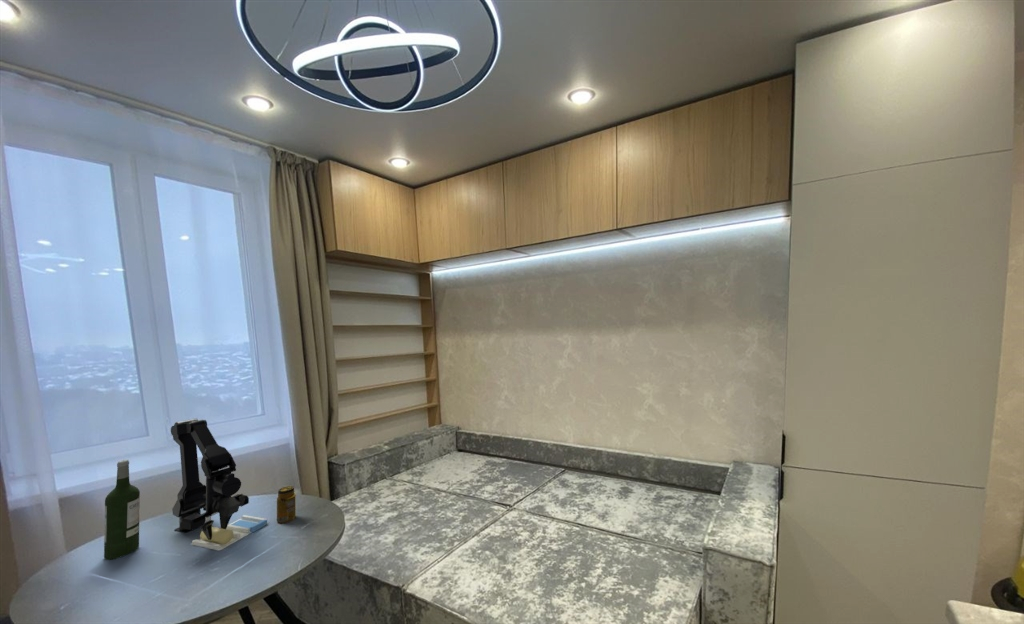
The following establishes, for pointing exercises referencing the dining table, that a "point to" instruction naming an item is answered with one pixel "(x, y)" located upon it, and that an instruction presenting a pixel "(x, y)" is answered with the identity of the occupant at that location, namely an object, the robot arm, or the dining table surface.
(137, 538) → the wine bottle
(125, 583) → the dining table surface
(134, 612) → the dining table surface
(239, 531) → the white slotted organizer tray
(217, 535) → the cream soap bar
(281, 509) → the condiment
